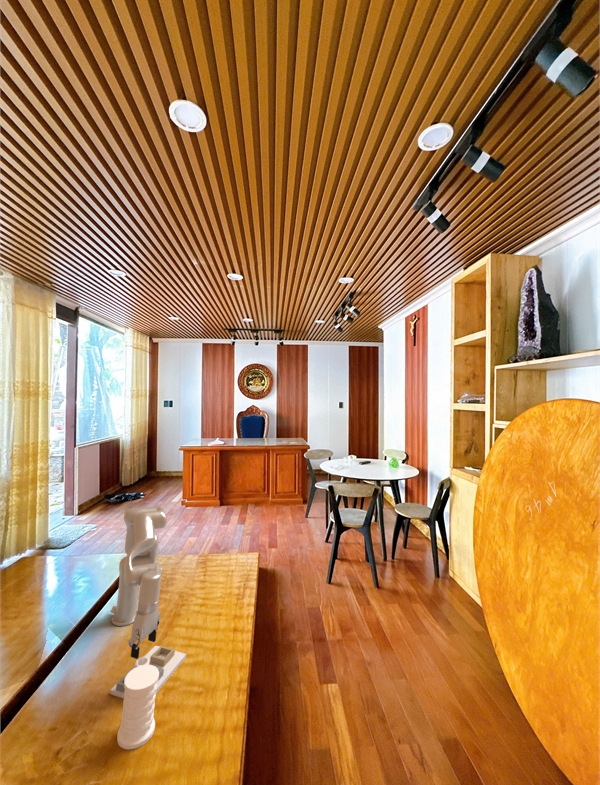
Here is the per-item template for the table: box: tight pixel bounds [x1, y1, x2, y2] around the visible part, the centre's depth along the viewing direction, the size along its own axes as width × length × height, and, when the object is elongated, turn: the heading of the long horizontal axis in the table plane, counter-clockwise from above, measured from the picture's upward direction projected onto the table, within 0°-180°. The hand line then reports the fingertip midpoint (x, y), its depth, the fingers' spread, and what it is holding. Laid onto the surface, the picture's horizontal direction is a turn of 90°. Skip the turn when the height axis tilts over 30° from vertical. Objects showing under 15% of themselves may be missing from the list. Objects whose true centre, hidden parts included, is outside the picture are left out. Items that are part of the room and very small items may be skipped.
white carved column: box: [116, 665, 159, 750], centre depth 113 cm, size 12×12×18 cm
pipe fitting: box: [133, 656, 149, 668], centre depth 131 cm, size 6×7×8 cm
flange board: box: [109, 645, 187, 700], centre depth 137 cm, size 16×26×4 cm, turn 166°
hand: (143, 648), depth 132 cm, fingers open, 9 cm apart
